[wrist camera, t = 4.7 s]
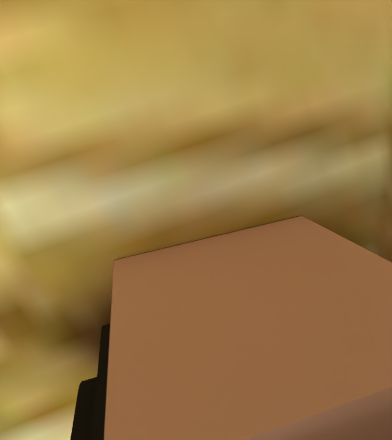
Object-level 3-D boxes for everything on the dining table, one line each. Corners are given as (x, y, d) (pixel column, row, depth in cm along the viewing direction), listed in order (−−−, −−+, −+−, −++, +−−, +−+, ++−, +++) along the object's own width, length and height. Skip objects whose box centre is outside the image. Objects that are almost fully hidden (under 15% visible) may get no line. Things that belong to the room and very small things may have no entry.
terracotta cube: (301, 215, 10) (534, 336, 4) (308, 361, 12) (472, 572, 6) (113, 260, 9) (101, 490, 3) (155, 411, 11) (189, 712, 5)
